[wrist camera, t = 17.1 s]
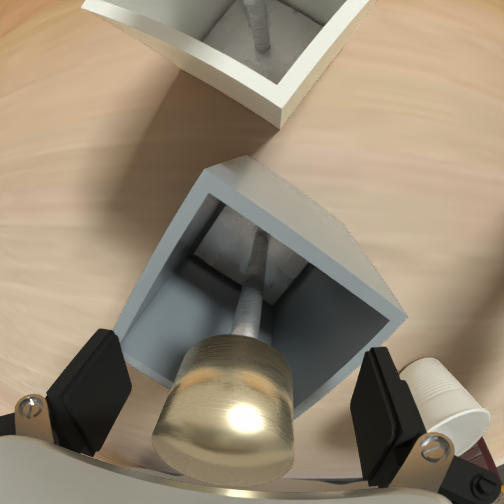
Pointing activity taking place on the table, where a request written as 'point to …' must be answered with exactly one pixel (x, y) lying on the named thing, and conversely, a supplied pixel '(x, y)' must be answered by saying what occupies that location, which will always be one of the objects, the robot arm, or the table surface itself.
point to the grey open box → (272, 316)
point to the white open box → (222, 66)
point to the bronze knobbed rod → (263, 36)
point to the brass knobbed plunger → (235, 372)
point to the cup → (445, 404)
